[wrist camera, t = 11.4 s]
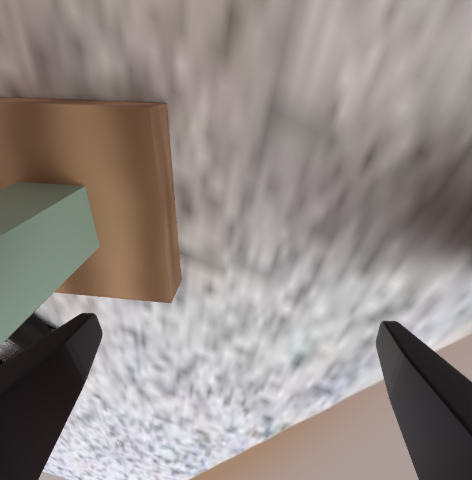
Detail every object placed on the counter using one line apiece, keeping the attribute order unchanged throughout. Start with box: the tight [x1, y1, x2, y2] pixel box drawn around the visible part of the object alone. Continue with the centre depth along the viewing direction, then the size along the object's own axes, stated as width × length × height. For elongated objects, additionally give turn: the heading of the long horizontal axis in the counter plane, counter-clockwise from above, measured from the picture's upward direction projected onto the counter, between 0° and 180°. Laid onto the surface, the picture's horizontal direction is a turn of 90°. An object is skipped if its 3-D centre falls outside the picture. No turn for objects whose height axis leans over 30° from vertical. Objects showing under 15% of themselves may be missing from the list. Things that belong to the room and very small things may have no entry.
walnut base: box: [0, 97, 181, 303], centre depth 21 cm, size 14×14×3 cm
